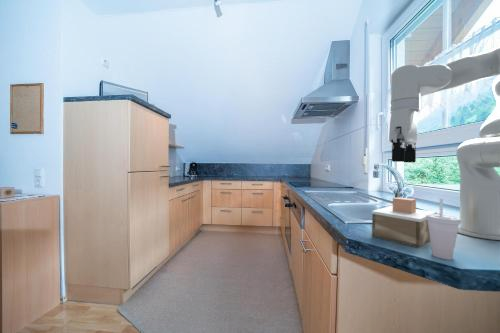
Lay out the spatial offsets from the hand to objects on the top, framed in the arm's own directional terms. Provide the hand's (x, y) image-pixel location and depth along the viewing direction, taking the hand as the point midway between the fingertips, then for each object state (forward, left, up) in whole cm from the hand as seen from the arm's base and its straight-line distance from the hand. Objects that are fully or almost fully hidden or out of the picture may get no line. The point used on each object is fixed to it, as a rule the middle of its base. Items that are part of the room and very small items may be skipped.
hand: (404, 161), depth 67 cm
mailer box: (0, 0, -23) cm, 23 cm away
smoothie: (+10, +11, -24) cm, 28 cm away
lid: (0, 0, -16) cm, 16 cm away
